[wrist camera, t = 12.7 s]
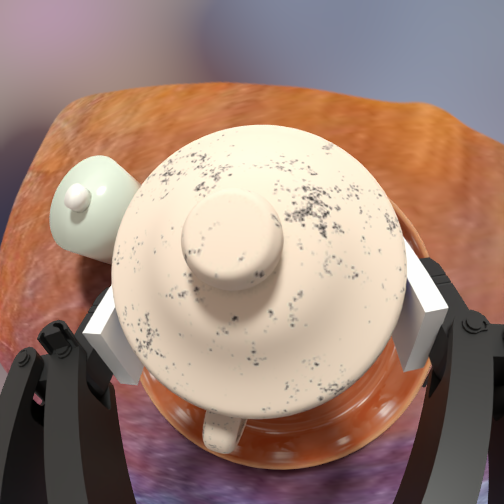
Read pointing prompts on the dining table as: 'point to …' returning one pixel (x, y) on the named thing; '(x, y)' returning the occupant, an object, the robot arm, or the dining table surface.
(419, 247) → the saucer
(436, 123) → the dining table surface
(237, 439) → the teacup with lid
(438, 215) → the dining table surface
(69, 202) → the sugar bowl
